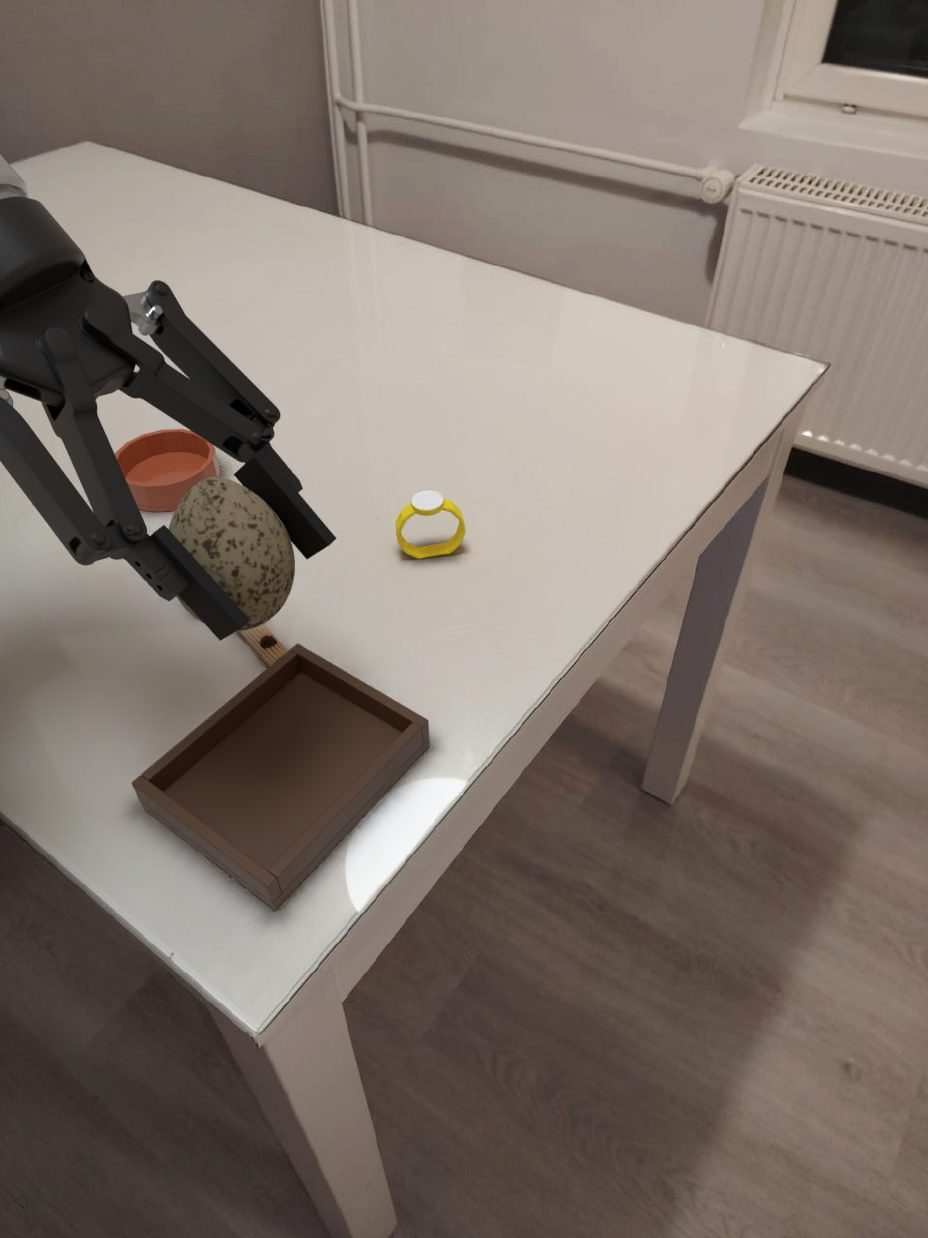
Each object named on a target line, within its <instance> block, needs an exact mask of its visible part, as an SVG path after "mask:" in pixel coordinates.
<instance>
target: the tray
mask: <svg viewBox="0 0 928 1238" xmlns="http://www.w3.org/2000/svg"><path fill="white" fill-rule="evenodd" d="M429 724H430V723H429V719H428V718H425V717H424V716H422V715H421V714H419V713H418V712H416V711H414V710H412V709H411V708H408V707H407V706H405V705H404V704H402V703H400V702H399V701H397V700H395V699H393V698H392V697H390V696H388V695H386V694H385V693H383V692H382V691H380V690H378V689H377V688H375V687H373V686H371V685H370V684H368V683H366V682H364V681H363V680H361V679H359V678H358V677H356V676H355V675H352V674H350V673H349V672H348V671H346V670H344V669H342V668H340V667H339V666H337V665H335V664H333V663H332V662H331V661H329V660H327V659H325V658H324V657H322V656H320V655H319V654H317V653H315V652H313V651H312V650H310V649H308V648H307V647H305V646H303V645H301V644H300V643H295V644H294V645H293V646H292V647H291V648H290V649H289V650H288V652H286V653H285V654H284V655H283V656H282V657H280V658H279V659H278V660H277V661H276V662H275V663H273V664H272V665H271V666H268V667H267V668H266V669H265V670H263V672H261V673H260V674H259V675H257V676H256V677H255V678H254V679H253V680H252V681H251V682H249V683H248V684H247V685H246V686H245V687H243V688H242V689H240V690H239V691H238V692H237V693H236V694H235V695H234V696H233V697H231V698H230V699H228V701H226V702H225V703H224V704H223V705H222V706H220V708H218V709H217V710H215V712H213V713H212V714H211V715H210V716H208V718H206V719H205V720H204V721H203V722H202V723H200V724H199V725H198V726H197V727H196V728H194V729H193V730H192V731H191V732H189V734H187V735H186V736H185V737H184V738H183V739H181V740H180V741H179V742H178V743H177V744H175V745H173V747H171V748H170V749H169V750H168V751H167V752H165V754H164V755H162V756H160V758H158V760H156V761H154V762H153V763H152V764H151V765H150V766H149V767H148V768H147V769H146V770H144V771H143V772H141V774H140V775H138V776H137V777H136V778H135V779H133V781H131V786H132V788H133V789H134V792H135V794H136V796H137V798H138V801H139V802H140V804H141V805H140V806H142V809H144V810H145V811H146V812H148V813H149V814H150V815H151V816H153V817H154V818H155V819H156V820H158V821H159V822H160V823H162V824H163V825H164V826H165V827H167V828H168V829H169V830H171V831H172V832H173V833H174V834H176V835H177V836H178V837H179V838H180V839H182V840H183V841H185V842H186V843H187V844H189V846H191V847H193V849H195V850H196V851H198V852H199V853H200V854H201V855H203V856H204V857H205V858H206V859H208V860H209V861H211V863H213V864H214V865H216V867H218V868H220V869H221V870H222V871H223V872H225V873H226V874H227V875H228V876H230V877H231V878H232V879H234V880H235V881H236V882H237V883H239V884H240V885H241V886H243V887H244V889H246V890H248V891H249V892H250V893H252V895H254V896H256V898H258V899H260V901H262V902H263V903H264V904H266V905H267V906H268V907H270V908H271V909H272V910H273V911H277V910H278V909H279V907H280V906H282V904H283V903H285V901H286V900H287V899H288V898H289V897H290V896H291V895H292V894H293V892H294V891H295V890H296V889H298V887H299V886H300V885H301V884H302V883H303V882H304V881H305V880H306V878H308V877H309V876H310V874H311V873H312V872H313V871H314V870H315V869H316V868H317V867H318V866H319V865H320V864H321V863H322V861H324V860H325V858H326V857H327V856H329V854H330V853H331V852H332V851H333V850H334V849H335V848H336V847H337V845H339V843H341V841H343V839H344V838H345V837H346V836H347V835H348V834H349V833H350V831H352V830H353V829H354V828H355V826H357V824H358V823H359V822H360V821H361V820H362V819H363V818H364V817H365V816H366V815H367V814H368V812H369V811H370V810H371V809H372V808H373V807H374V806H375V805H376V804H377V803H378V802H379V801H380V800H381V799H382V798H383V797H384V795H385V794H386V793H387V792H388V791H389V790H390V789H391V788H392V787H393V786H394V785H395V784H396V783H397V782H398V780H400V779H401V777H403V775H404V774H405V773H406V772H407V771H408V770H409V769H410V768H411V767H412V766H413V764H415V762H416V761H417V760H418V759H419V758H420V757H421V756H422V755H423V754H425V752H426V751H427V750H428V748H429V747H430V746H431V742H430V726H429Z"/></svg>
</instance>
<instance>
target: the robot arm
mask: <svg viewBox="0 0 928 1238" xmlns="http://www.w3.org/2000/svg"><path fill="white" fill-rule="evenodd" d="M132 324H134V325H136V326H137V327H138V333H139V334H140V335H141V336H144V337H146V336H149V337H150V339H151V340H152V341H153V343H154V344H155V345H156V347H157V348H158V349H159V350H160V351H161V352H162V353H163V354H164V355H165V356H166V357H167V358H168V359H169V360H170V361H171V363H173V364H174V365H175V367H177V369H179V370H180V371H181V372H182V373H181V372H180V371H179V370H177V369H175V367H173V366H172V365H170V364H169V363H167V362H166V359H165V357H164V355H163V354H162V353H161V352H160V351H159V350H158V349H156V348H155V347H153V346H152V345H151V344H149V343H147V342H146V341H144V340H143V339H142V338H140V337H138V336H137V335H136V334H134V333H133V332H134V331H133V325H132ZM136 366H137V367H138V370H137V371H135V368H136ZM117 391H120V392H122V393H123V394H125V395H126V396H128V397H130V398H132V399H140V400H143V401H144V402H146V403H148V404H149V405H151V406H152V407H153V408H155V409H157V410H158V411H160V412H161V413H163V414H164V415H166V416H168V417H169V418H171V419H172V420H174V421H175V422H177V423H178V424H180V425H181V426H183V427H185V428H186V429H187V430H190V431H192V432H194V433H195V434H197V435H198V436H200V437H202V438H203V439H205V440H206V441H208V442H209V443H211V444H212V445H213V446H214V447H215V448H217V449H219V450H220V451H221V452H223V453H225V454H226V455H228V456H229V457H230V458H232V459H234V460H235V461H236V462H239V463H241V464H242V463H244V464H243V465H242V466H241V467H240V468H238V469H237V471H235V472H234V473H233V476H234V477H235V478H236V479H237V481H238V482H239V484H241V485H243V486H244V487H246V488H248V489H249V490H251V491H252V492H253V493H255V494H256V495H258V496H259V497H260V498H261V499H262V500H263V501H265V502H266V503H267V504H268V505H269V506H270V507H271V509H272V510H273V511H274V512H275V513H276V514H277V516H278V517H279V519H280V520H281V522H282V523H283V524H284V526H285V528H286V530H287V532H288V535H289V537H290V539H291V543H292V545H293V546H294V547H295V548H296V549H297V550H298V551H299V553H300V554H301V555H302V557H304V558H305V559H306V560H309V559H311V558H312V557H314V556H315V555H317V554H318V553H320V552H321V551H323V550H325V549H326V548H327V547H329V546H330V545H331V544H333V543H334V542H335V541H336V540H337V537H336V536H335V534H334V533H333V532H332V531H331V530H330V529H329V527H328V526H327V525H326V524H325V523H324V521H323V520H322V519H321V517H320V516H319V515H318V514H317V513H316V512H315V510H313V508H312V507H311V505H310V504H309V503H307V501H306V500H305V499H304V497H303V496H302V494H300V492H301V491H303V490H304V487H303V485H302V483H301V480H300V479H299V477H298V476H297V475H296V474H295V473H294V472H293V471H292V469H291V468H290V467H289V466H288V464H287V463H286V462H285V460H283V458H282V457H281V456H280V455H279V454H278V453H277V452H276V450H275V449H274V448H273V446H272V444H271V443H270V442H271V441H272V440H273V439H274V438H275V429H274V428H275V425H276V424H277V423H278V422H279V421H280V419H281V416H282V415H281V411H280V409H279V408H278V407H277V406H276V404H275V403H274V402H273V401H272V400H270V398H268V397H267V395H266V394H264V392H263V391H262V390H260V389H259V387H258V386H257V385H256V384H255V383H254V382H253V381H252V380H251V379H249V377H248V376H247V375H246V374H245V373H244V372H243V371H242V370H241V369H240V368H239V367H238V366H237V365H236V364H235V363H234V362H233V361H232V360H231V359H230V358H229V357H228V356H227V355H226V354H225V353H224V352H223V350H221V349H220V348H219V347H218V346H217V345H216V344H215V342H213V341H212V340H211V339H210V338H209V337H208V336H207V334H205V333H204V332H203V331H202V330H201V328H200V327H198V325H197V324H195V323H194V322H193V321H192V319H190V317H188V316H187V315H186V313H185V311H184V309H183V308H182V306H181V303H179V300H178V299H177V297H176V295H175V294H174V292H173V290H172V289H171V287H170V286H169V285H168V284H167V282H164V281H162V280H160V279H155V280H153V281H151V283H150V285H149V286H148V287H147V289H146V290H145V291H141V292H136V293H132V294H127V295H122V294H121V293H120V292H118V290H116V289H114V288H112V287H111V286H108V285H106V284H105V283H104V282H103V281H101V280H100V279H99V278H97V276H96V275H95V273H94V272H93V270H92V268H91V266H90V264H89V262H88V260H87V258H86V255H85V254H84V252H83V250H82V249H81V248H80V247H79V246H78V245H77V243H76V242H75V241H74V240H73V239H72V237H71V236H70V235H69V234H68V232H66V230H65V229H64V228H63V227H62V226H61V224H60V223H59V222H58V221H57V219H55V217H54V216H53V215H52V213H51V212H50V211H49V210H48V209H47V207H45V206H44V204H43V203H41V202H40V201H39V200H38V199H33V198H30V197H29V189H28V186H27V184H26V182H25V180H24V179H23V178H22V176H20V175H19V174H18V172H17V171H16V170H15V169H14V168H13V166H11V165H10V163H9V162H8V161H7V160H6V158H5V157H3V155H2V154H1V153H0V463H1V464H2V466H3V467H4V469H5V470H6V471H7V473H8V474H9V475H10V476H11V478H12V480H14V481H15V483H16V484H17V486H18V487H19V488H20V490H21V491H22V492H23V494H24V495H25V496H26V497H27V499H28V501H30V503H31V504H32V506H33V507H34V508H35V509H36V511H37V512H38V514H39V515H40V517H42V519H43V520H44V522H45V523H46V524H47V525H48V526H49V528H50V529H51V531H52V532H53V533H54V536H56V538H58V540H59V541H60V543H61V544H62V545H63V547H64V548H65V549H66V550H67V552H68V553H69V554H70V556H71V557H72V559H73V560H74V561H75V562H76V563H77V564H79V565H81V566H86V567H87V566H91V565H93V564H94V563H95V562H98V561H102V560H105V559H109V558H110V559H112V560H115V561H120V560H125V562H127V563H128V564H129V565H130V566H131V567H132V569H133V570H134V571H135V572H136V573H137V574H138V575H139V576H140V577H141V579H143V580H144V582H146V583H147V585H148V586H149V587H150V588H151V589H152V590H153V591H154V592H155V593H156V594H157V596H158V597H160V598H161V599H163V600H165V601H167V602H171V601H172V600H173V599H175V598H177V597H176V596H177V595H178V596H179V597H180V598H181V599H182V600H183V601H184V602H185V603H186V604H187V605H188V606H189V608H190V609H191V610H192V611H193V612H194V613H195V614H196V615H197V616H198V617H199V618H200V619H201V621H202V622H201V621H200V622H201V623H202V624H204V625H205V626H206V627H207V628H208V629H209V630H210V632H211V633H212V634H213V635H214V636H215V637H216V638H217V640H218V641H221V642H222V641H223V640H224V639H226V638H227V637H229V636H231V635H233V634H235V633H236V632H239V631H238V630H240V629H241V628H242V627H243V626H244V625H245V624H246V623H248V622H249V621H250V619H249V618H248V617H247V616H246V615H245V614H244V613H243V611H242V610H241V609H240V608H239V607H238V606H237V605H236V604H235V603H234V601H233V600H232V599H231V598H230V597H229V596H228V595H227V594H226V593H225V591H224V590H223V589H222V588H221V587H220V586H219V585H218V584H217V583H216V581H215V580H214V579H213V578H212V577H211V576H210V575H209V574H208V573H207V571H206V570H205V569H204V568H203V567H202V566H201V565H200V564H199V563H198V561H197V560H196V559H195V558H194V557H193V556H192V555H191V554H190V553H189V552H188V550H187V549H186V548H185V547H184V546H183V545H182V544H181V543H180V542H179V540H178V539H177V538H176V537H175V536H174V535H173V534H172V533H171V532H170V530H169V527H167V526H166V525H165V524H163V525H161V526H160V527H158V528H157V530H155V531H153V533H151V535H150V534H148V527H147V525H146V522H145V520H144V518H143V515H142V513H141V511H140V509H139V508H138V506H137V504H136V502H135V499H134V497H133V495H132V493H131V490H130V488H129V486H128V483H127V481H126V479H125V477H124V474H123V472H122V470H121V467H120V465H119V463H118V461H117V458H116V456H115V452H114V449H113V447H112V445H111V443H110V440H109V438H108V436H107V434H106V431H105V429H104V426H103V425H102V422H101V420H100V417H99V415H98V403H97V399H98V398H99V397H103V396H106V395H110V394H114V393H116V392H117ZM10 392H12V393H15V394H18V395H21V396H24V397H26V398H29V399H31V400H35V401H37V402H39V403H41V406H42V408H43V411H44V412H45V414H46V417H47V419H48V421H49V424H50V426H51V429H52V430H53V433H54V434H55V436H56V437H57V438H60V440H61V441H62V444H63V445H64V448H65V450H66V452H67V455H68V457H69V459H70V462H71V464H72V466H73V468H74V469H73V470H75V473H76V475H77V477H78V480H79V482H80V484H81V487H82V489H83V492H84V494H85V496H86V498H87V500H88V503H89V504H88V503H87V502H86V500H85V499H84V497H83V496H82V494H81V493H80V492H79V491H78V489H77V488H76V486H75V485H74V484H73V482H71V479H70V478H69V477H68V475H66V473H65V472H64V471H63V468H61V467H60V465H59V464H58V462H57V461H56V460H55V458H54V457H53V456H52V454H51V453H50V451H49V450H48V448H47V447H46V446H45V445H44V443H43V442H42V440H40V438H39V436H38V435H37V434H36V433H35V432H34V429H32V427H31V425H30V424H29V423H28V422H27V420H26V419H25V418H24V417H23V416H22V414H21V413H20V412H18V410H17V409H16V408H15V407H14V399H13V397H12V396H11V394H10ZM89 505H90V506H89Z"/></svg>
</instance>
